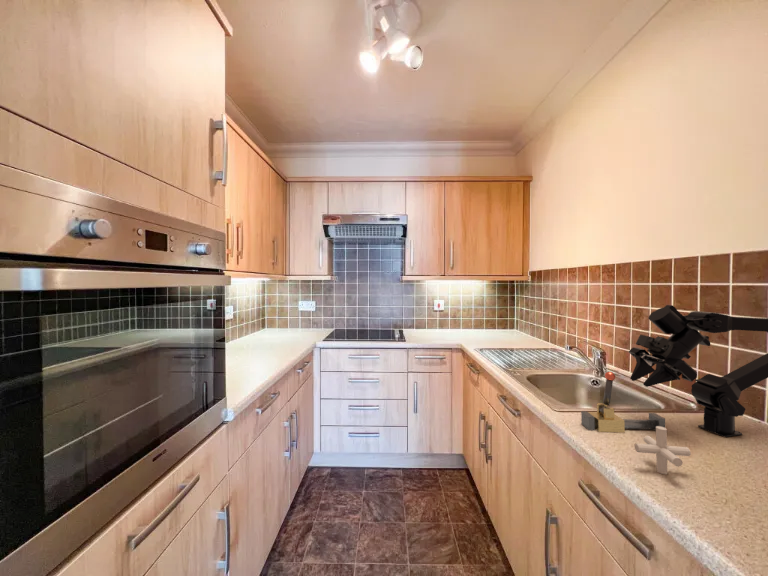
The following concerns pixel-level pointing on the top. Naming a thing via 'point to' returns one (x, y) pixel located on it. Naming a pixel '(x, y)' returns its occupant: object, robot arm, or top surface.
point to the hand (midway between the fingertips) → (638, 382)
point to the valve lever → (607, 390)
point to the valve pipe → (617, 421)
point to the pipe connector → (662, 450)
